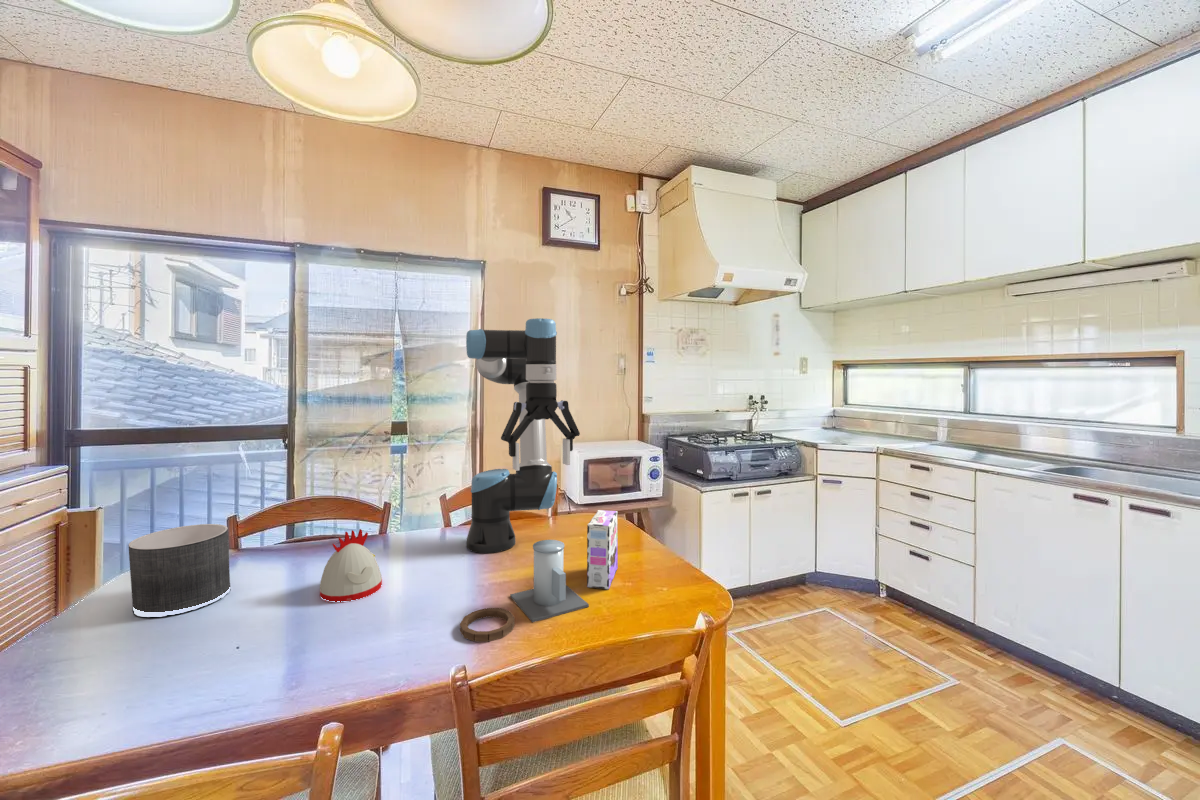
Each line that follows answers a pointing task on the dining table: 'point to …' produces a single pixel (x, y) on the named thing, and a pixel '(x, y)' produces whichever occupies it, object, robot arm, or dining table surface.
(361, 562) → the white chicken figure
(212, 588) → the planter
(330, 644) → the dining table surface
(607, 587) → the candy box
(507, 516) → the robot arm
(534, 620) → the mat
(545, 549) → the white cylindrical canister
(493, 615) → the brown segmented ring
